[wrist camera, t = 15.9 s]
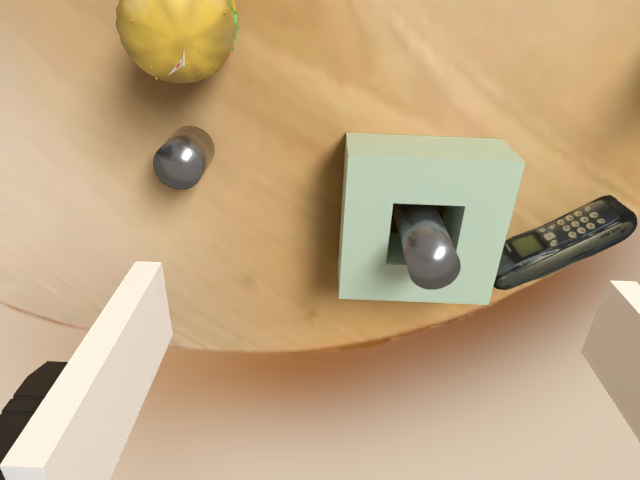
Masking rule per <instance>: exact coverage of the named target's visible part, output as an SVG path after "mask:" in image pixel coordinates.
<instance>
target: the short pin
mask: <svg viewBox="0 0 640 480" xmlns="http://www.w3.org/2000/svg"><path fill="white" fill-rule="evenodd" d="M213 156H214V144H213V141H212V139H211V138H210V136H209V135H208V134H207V133H206V132H205V131H203V130H202V129H200V128H197V127H193V126H186V127H182V128H180V129H179V130H177V131H176V132H175V133H174V134H173V135H172V136H171V137H170V138H169V140H168V141H167V142H166V143H165V144H164V145H163V146H162V147H161V148H160V149H159V150H158V151H157V153H156V154H155V157H154V160H153V166H154V170H155V173H156V175H157V176H158V178H159V179H160V180H161V181H162V182H163V183H164V184H165V185H167V186H169V187H171V188H174V189H180V190H181V189H188V188H191V187H193V186H194V185H195V184H196V183H197V182H198V181H199V179H200V178H201V176H202V175H203V173H204V171H205V170H206V168H207V167H208V165H209V163H210V162H211V160H212V159H213Z"/></svg>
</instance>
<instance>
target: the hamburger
mask: <svg viewBox="0 0 640 480" xmlns="http://www.w3.org/2000/svg"><path fill="white" fill-rule="evenodd" d="M116 15H117V19H116V28H117V30H118V33H119V36H120V39H121V43H122V44H123V46H124V48H125V50H126V51H127V53H128V55H129V56H130V57H131V59H132V60H133V61H134V62H135V63H136V64H137V65H138V66H139V67H140V68H141V69H142V70H144V71H145V72H147V73H148V74H150V75H152V76H154V77H155V79H156V80H157V79H161V80H163V81H166V82H171V83H180V84H186V83H193V82H197V81H200V80H203V79H206V78H208V77H209V76H211V75H212V74H214V73H215V72H216V71H218V70H219V69H220V68H221V67H222V65H223V64H224V63H225V62H226V60H227V59H228V56H229V55H230V53H231V52H232V51H233V46H234V42H235V40H236V34H237V32H238V9H237V5H236V1H235V0H120V2H119V4H118V6H117V8H116Z"/></svg>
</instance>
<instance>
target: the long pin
mask: <svg viewBox="0 0 640 480" xmlns="http://www.w3.org/2000/svg"><path fill="white" fill-rule="evenodd" d="M393 213H394V217H395V221H396V225H397V229H398V233H399V237H400V241H401V245H402V249H403V253H404V257H405V261H406V265H407V269H408V273H409V276H410V279H411V280H412V281H413V283H414V284H416V285H417V286H419V287H421V288H423V289H428V290H436V289H441V288H444V287H446V286H448V285H450V284H451V283H452V282H453V281H454V280H455V279H456V278H457V276H458V275H459V273H460V269H461V263H460V259H459V257H458V255H457V252H456V250H455V248H454V245H453V243H452V241H451V239H450V236H449V234H448V232H447V229H446V227H445V225H444V223H443V220H442V218H441V216H440V213H439V211H438V209H437V207H436V205H422V204H398V203H393Z"/></svg>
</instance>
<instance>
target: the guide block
mask: <svg viewBox="0 0 640 480" xmlns="http://www.w3.org/2000/svg"><path fill="white" fill-rule="evenodd" d="M524 166H525V161H524V160H523V159H522V158H521V157H520V156H519V155H518V154H517V153H516V152H515V151H514V150H513V149H512V148H511V147H510V146H509V145H508V144H507V143H506V142H505V141H504V140H503V139H494V138H469V137H444V136H419V135H394V134H369V133H346V144H345V160H344V176H343V192H342V208H341V224H340V240H339V256H338V289H339V299H358V300H383V301H408V302H433V303H457V304H482V305H489V302H490V298H491V294H492V290H493V286H494V282H495V278H496V274H497V271H498V267H499V263H500V259H501V255H502V251H503V247H504V244H505V240H506V236H507V232H508V228H509V224H510V220H511V217H512V213H513V209H514V205H515V201H516V197H517V193H518V190H519V186H520V182H521V178H522V174H523V170H524ZM393 203H398V204H422V205H445V209H444V215H443V223H444V225H445V227H446V229H447V232H448V234H449V236H450V239H451V241H452V243H453V245H454V248H455V250H456V252H457V255H458V257H459V259H460V263H461V269H460V273H459V275H458V276H457V278H456V279H455V280H454V281H453V282H452V283H451V284H450V285H448V286H446V287H444V288H441V289H436V290H428V289H423V288H421V287H419V286H417V285H416V284H414V283H413V281H412V280H411V279H410V276H409V273H408V269H407V265H406V261H405V257H404V253H403V249H402V245H401V241H400V237H399V233H392V232H390V226H391V218H392V210H393Z"/></svg>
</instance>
